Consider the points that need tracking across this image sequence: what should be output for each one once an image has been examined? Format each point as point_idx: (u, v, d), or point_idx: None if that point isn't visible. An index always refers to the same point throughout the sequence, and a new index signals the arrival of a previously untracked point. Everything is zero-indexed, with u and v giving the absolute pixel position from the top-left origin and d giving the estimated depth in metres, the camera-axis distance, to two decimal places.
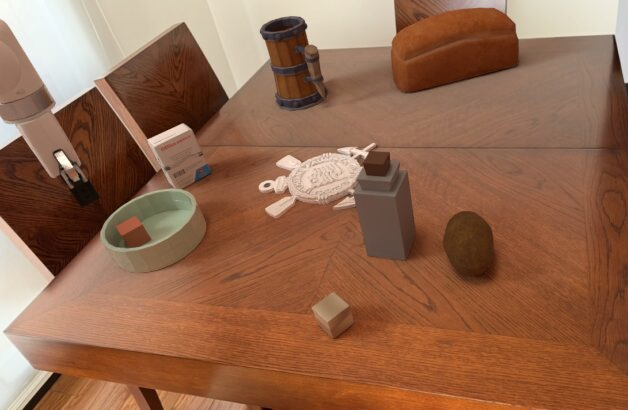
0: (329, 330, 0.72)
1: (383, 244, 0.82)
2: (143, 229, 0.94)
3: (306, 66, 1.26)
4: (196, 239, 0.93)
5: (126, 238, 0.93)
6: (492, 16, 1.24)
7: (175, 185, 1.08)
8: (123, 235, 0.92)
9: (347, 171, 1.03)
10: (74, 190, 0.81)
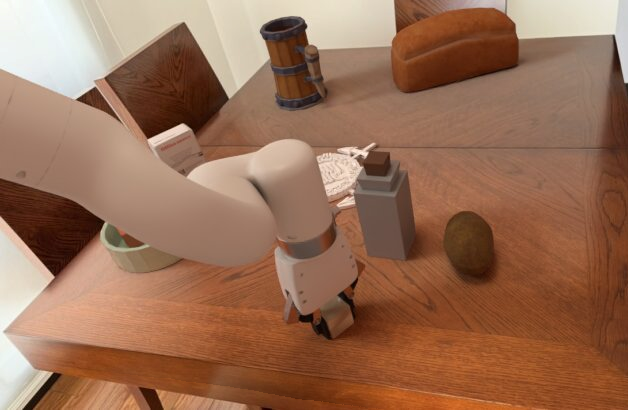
0: (329, 330, 0.72)
1: (383, 244, 0.82)
2: None
3: (306, 66, 1.26)
4: None
5: (126, 238, 0.93)
6: (492, 16, 1.24)
7: None
8: (123, 235, 0.92)
9: (347, 171, 1.03)
10: None
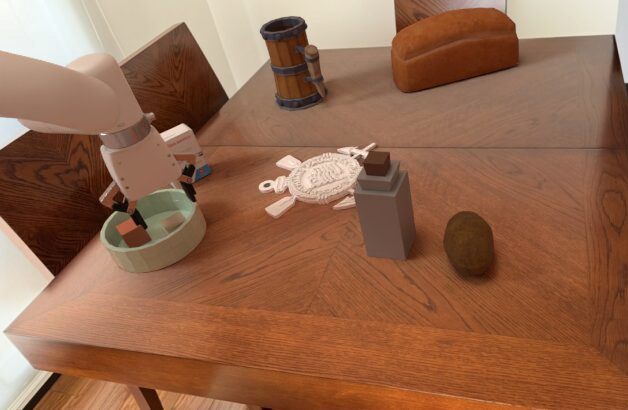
0: None
1: (383, 244, 0.82)
2: (143, 229, 0.94)
3: (306, 66, 1.26)
4: (196, 239, 0.93)
5: (126, 238, 0.93)
6: (492, 16, 1.24)
7: (175, 185, 1.08)
8: (123, 235, 0.92)
9: (347, 171, 1.03)
10: None
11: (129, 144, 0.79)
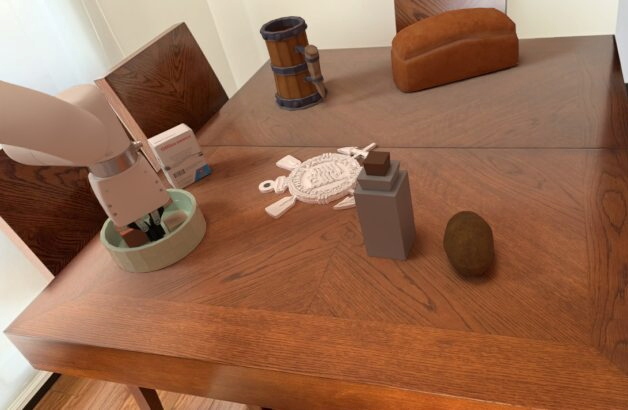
0: None
1: (383, 244, 0.82)
2: None
3: (306, 66, 1.26)
4: (196, 239, 0.93)
5: (126, 238, 0.93)
6: (492, 16, 1.24)
7: (175, 185, 1.08)
8: (123, 235, 0.92)
9: (347, 171, 1.03)
10: None
11: (116, 173, 0.80)
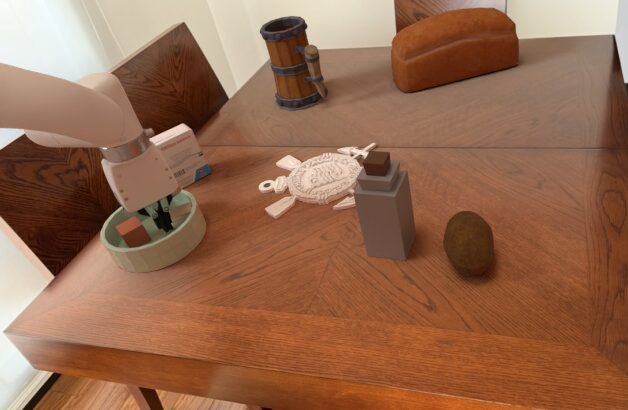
0: (175, 226, 0.95)
1: (383, 244, 0.82)
2: (143, 229, 0.94)
3: (306, 66, 1.26)
4: (196, 239, 0.93)
5: (126, 238, 0.93)
6: (492, 16, 1.24)
7: None
8: (123, 235, 0.92)
9: (347, 171, 1.03)
10: None
11: (129, 158, 0.83)
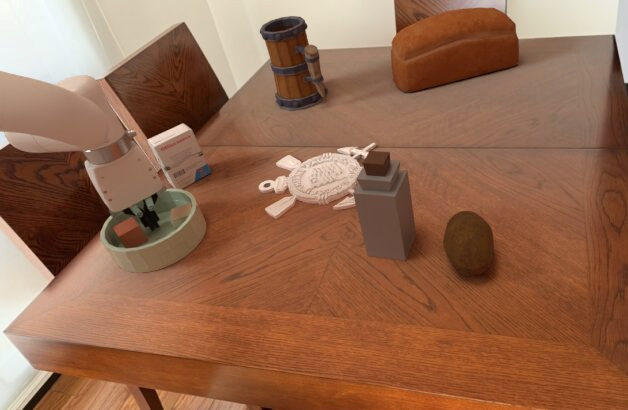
0: None
1: (383, 244, 0.82)
2: (140, 230, 0.94)
3: (306, 66, 1.26)
4: (196, 239, 0.93)
5: (123, 239, 0.93)
6: (492, 16, 1.24)
7: (175, 185, 1.08)
8: (120, 236, 0.92)
9: (347, 171, 1.03)
10: None
11: (111, 160, 0.84)
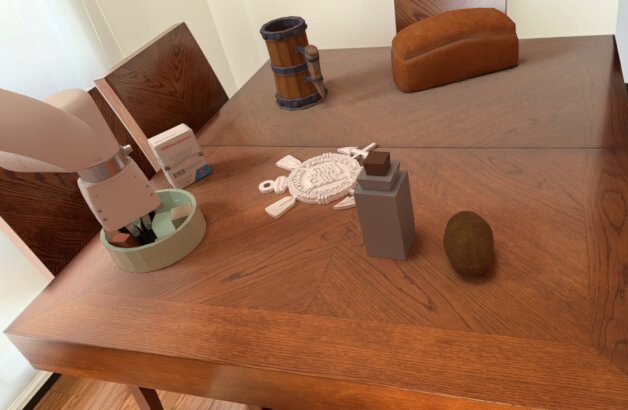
0: None
1: (383, 244, 0.82)
2: (126, 245, 0.90)
3: (306, 66, 1.26)
4: (196, 239, 0.93)
5: (112, 245, 0.92)
6: (492, 15, 1.24)
7: (175, 185, 1.08)
8: (109, 242, 0.91)
9: (347, 171, 1.03)
10: None
11: (105, 178, 0.79)
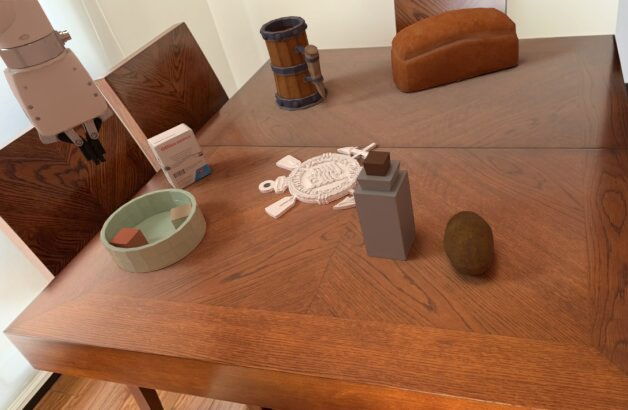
0: None
1: (383, 244, 0.82)
2: None
3: (306, 66, 1.26)
4: (196, 239, 0.93)
5: None
6: (492, 16, 1.24)
7: (175, 185, 1.08)
8: (110, 242, 0.91)
9: (347, 171, 1.03)
10: None
11: (35, 63, 0.67)
